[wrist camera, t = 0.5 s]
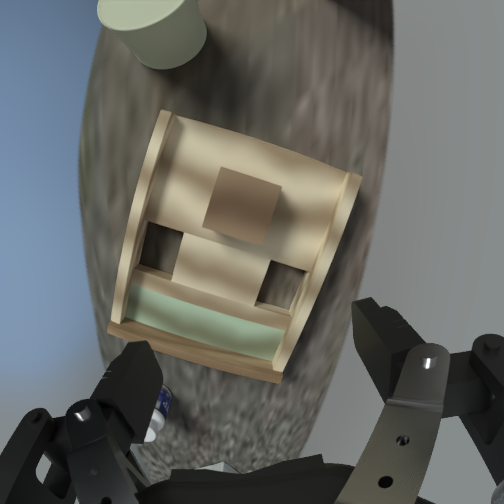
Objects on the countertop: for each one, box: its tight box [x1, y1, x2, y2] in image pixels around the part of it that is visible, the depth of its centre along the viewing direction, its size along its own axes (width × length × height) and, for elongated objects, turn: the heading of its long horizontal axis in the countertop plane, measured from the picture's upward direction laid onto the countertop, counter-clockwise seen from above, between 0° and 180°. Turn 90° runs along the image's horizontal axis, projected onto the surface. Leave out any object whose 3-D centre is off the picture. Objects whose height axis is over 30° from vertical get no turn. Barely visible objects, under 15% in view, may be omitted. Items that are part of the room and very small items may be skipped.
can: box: [97, 0, 207, 69], centre depth 22 cm, size 9×9×12 cm
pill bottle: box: [144, 385, 171, 442], centre depth 36 cm, size 5×5×9 cm
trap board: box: [107, 110, 363, 384], centre depth 33 cm, size 26×22×5 cm
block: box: [202, 167, 282, 246], centre depth 30 cm, size 6×6×4 cm
